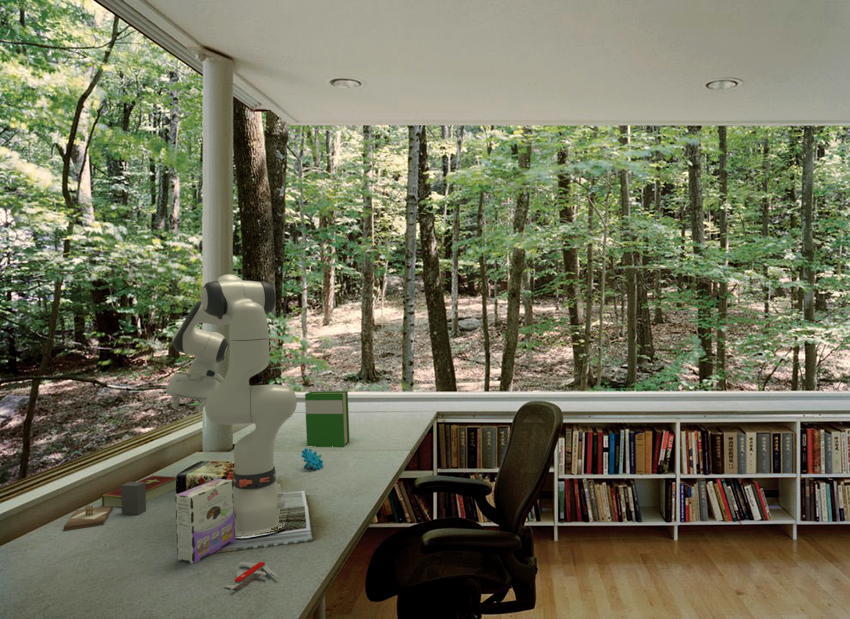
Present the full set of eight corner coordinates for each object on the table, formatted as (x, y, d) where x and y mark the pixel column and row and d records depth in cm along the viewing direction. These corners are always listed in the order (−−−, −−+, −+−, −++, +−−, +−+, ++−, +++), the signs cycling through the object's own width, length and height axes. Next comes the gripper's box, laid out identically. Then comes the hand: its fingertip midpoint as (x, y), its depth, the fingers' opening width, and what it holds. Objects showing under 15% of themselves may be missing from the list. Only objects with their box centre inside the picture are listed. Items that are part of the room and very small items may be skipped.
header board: (103, 524, 157) (103, 510, 157) (63, 530, 154) (63, 516, 154) (112, 508, 170) (112, 496, 171) (76, 514, 167) (75, 501, 167)
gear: (313, 468, 201) (299, 448, 205) (303, 479, 202) (289, 458, 206) (330, 464, 211) (316, 445, 215) (321, 474, 212) (307, 455, 216)
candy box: (219, 538, 145) (217, 477, 145) (236, 541, 142) (233, 479, 142) (176, 560, 132) (173, 493, 132) (193, 564, 130) (190, 496, 130)
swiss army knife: (255, 600, 113) (255, 590, 113) (205, 589, 118) (204, 580, 118) (288, 574, 123) (288, 565, 123) (240, 565, 128) (240, 557, 128)
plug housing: (146, 510, 168) (145, 482, 168) (138, 515, 164) (137, 485, 164) (130, 510, 169) (129, 481, 169) (121, 514, 165) (120, 485, 165)
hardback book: (349, 443, 246) (347, 391, 246) (344, 447, 239) (342, 393, 239) (313, 442, 249) (311, 391, 249) (307, 446, 242) (305, 393, 242)
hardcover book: (102, 507, 174) (101, 494, 174) (152, 486, 194) (151, 474, 194) (131, 509, 171) (130, 496, 171) (179, 488, 191) (179, 476, 191)
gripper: (171, 367, 196) (155, 402, 189) (221, 373, 192) (207, 410, 186) (180, 374, 202) (164, 409, 195) (229, 380, 198) (215, 416, 191)
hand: (185, 409), depth 190 cm, fingers open, 8 cm apart
